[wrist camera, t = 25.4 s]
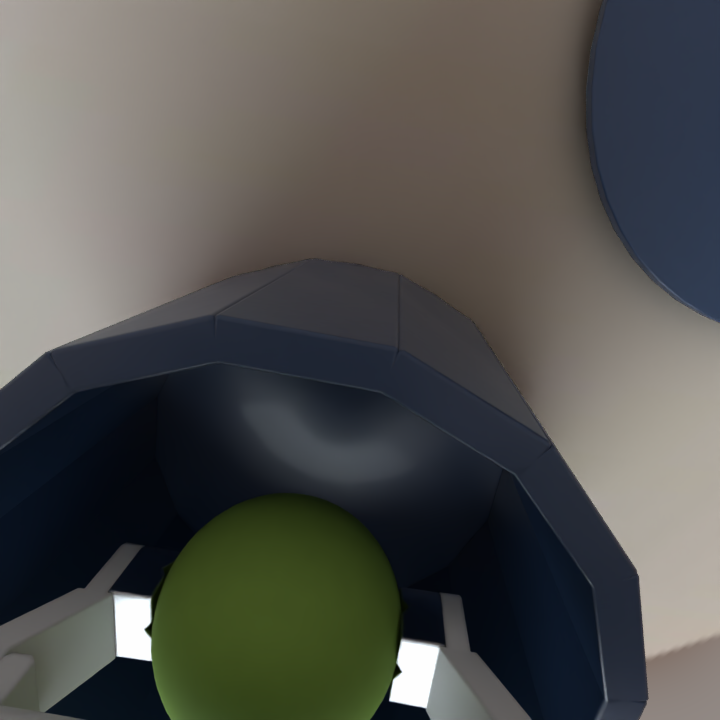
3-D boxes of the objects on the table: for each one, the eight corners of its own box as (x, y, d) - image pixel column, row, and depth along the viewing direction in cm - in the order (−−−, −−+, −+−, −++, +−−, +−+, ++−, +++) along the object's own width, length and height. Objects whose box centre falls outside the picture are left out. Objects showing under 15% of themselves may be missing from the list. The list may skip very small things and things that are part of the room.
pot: (86, 309, 18) (-244, 415, 9) (488, 216, 16) (613, 225, 7) (210, 622, 22) (74, 919, 13) (542, 581, 20) (665, 899, 11)
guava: (213, 438, 13) (84, 592, 8) (416, 468, 13) (426, 648, 8) (208, 601, 15) (98, 819, 10) (387, 630, 15) (379, 871, 9)
